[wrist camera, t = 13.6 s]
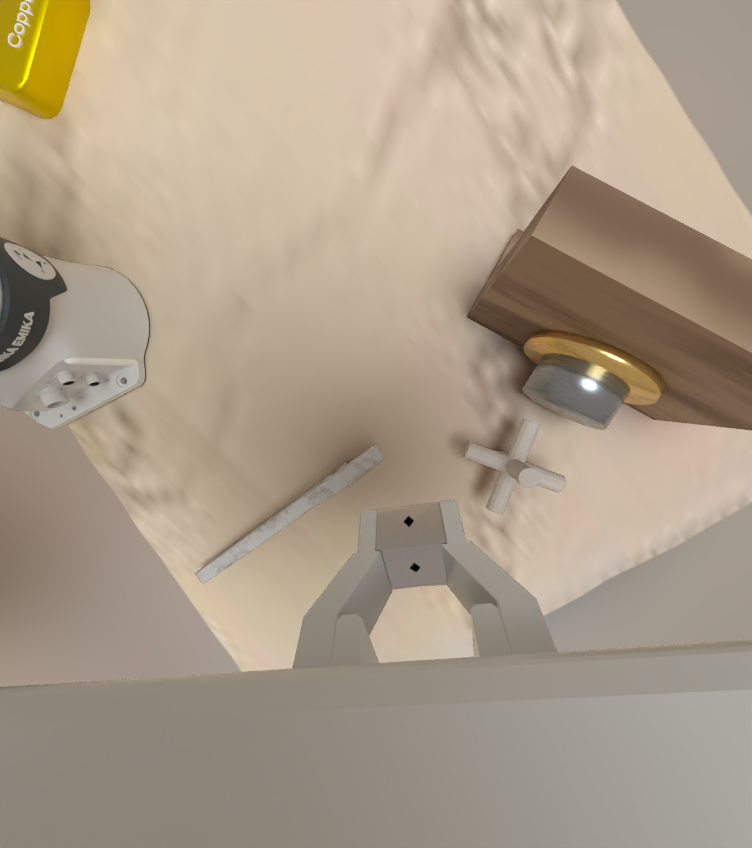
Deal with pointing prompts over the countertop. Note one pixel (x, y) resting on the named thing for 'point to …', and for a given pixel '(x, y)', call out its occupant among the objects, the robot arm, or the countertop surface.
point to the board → (632, 296)
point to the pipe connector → (513, 467)
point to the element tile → (39, 51)
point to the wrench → (294, 511)
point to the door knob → (587, 377)
